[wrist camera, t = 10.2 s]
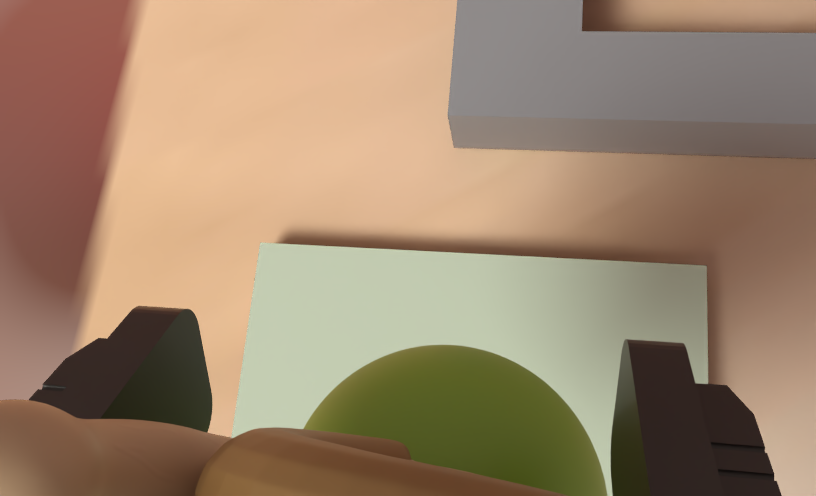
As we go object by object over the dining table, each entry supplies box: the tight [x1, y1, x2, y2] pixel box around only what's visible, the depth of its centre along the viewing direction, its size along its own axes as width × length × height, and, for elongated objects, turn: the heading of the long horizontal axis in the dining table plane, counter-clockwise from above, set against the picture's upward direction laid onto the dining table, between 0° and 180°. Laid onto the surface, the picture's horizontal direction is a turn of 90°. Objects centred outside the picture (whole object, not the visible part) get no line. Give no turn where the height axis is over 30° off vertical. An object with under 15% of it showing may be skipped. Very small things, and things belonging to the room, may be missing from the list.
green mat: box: [231, 243, 708, 496], centre depth 23 cm, size 14×14×1 cm
